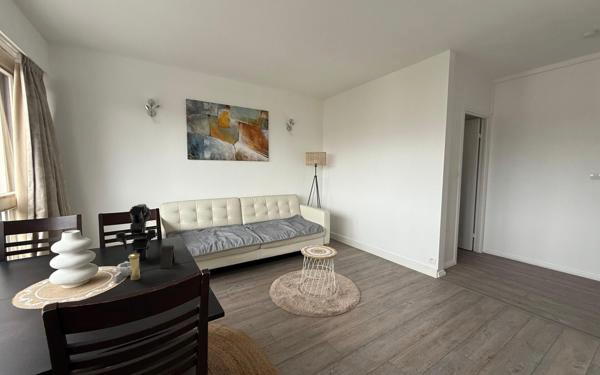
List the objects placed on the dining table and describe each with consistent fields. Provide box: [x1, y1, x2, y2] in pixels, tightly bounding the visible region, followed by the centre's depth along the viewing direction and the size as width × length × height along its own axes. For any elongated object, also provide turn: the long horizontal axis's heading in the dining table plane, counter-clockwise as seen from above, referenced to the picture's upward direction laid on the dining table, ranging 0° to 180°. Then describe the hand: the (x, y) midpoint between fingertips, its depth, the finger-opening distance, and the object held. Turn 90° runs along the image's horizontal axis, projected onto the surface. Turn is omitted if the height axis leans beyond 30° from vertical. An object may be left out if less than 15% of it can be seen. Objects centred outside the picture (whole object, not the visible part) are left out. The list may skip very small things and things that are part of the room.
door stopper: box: [159, 244, 177, 269], centre depth 148 cm, size 9×6×12 cm, turn 8°
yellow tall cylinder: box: [128, 252, 141, 281], centre depth 131 cm, size 5×5×13 cm
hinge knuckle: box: [113, 260, 131, 283], centre depth 137 cm, size 20×8×4 cm, turn 21°
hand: (136, 248), depth 137 cm, fingers open, 9 cm apart
